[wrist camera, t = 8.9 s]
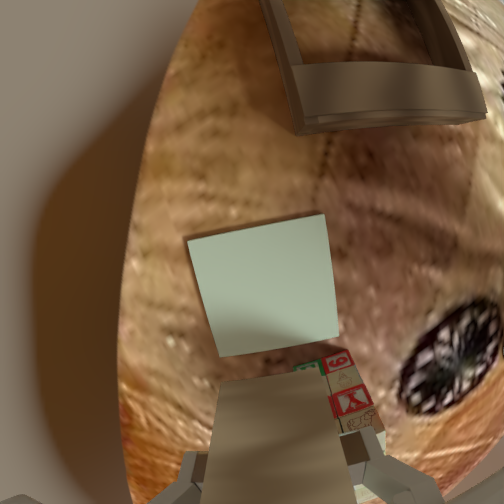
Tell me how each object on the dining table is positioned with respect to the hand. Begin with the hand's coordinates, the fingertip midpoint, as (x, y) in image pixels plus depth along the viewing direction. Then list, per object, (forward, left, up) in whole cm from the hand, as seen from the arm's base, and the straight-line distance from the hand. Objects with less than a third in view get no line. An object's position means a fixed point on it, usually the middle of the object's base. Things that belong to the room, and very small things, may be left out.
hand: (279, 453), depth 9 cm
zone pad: (0, 0, -18) cm, 18 cm away
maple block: (0, 0, -3) cm, 3 cm away
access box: (-14, -22, -18) cm, 32 cm away
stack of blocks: (-5, +19, -18) cm, 27 cm away
